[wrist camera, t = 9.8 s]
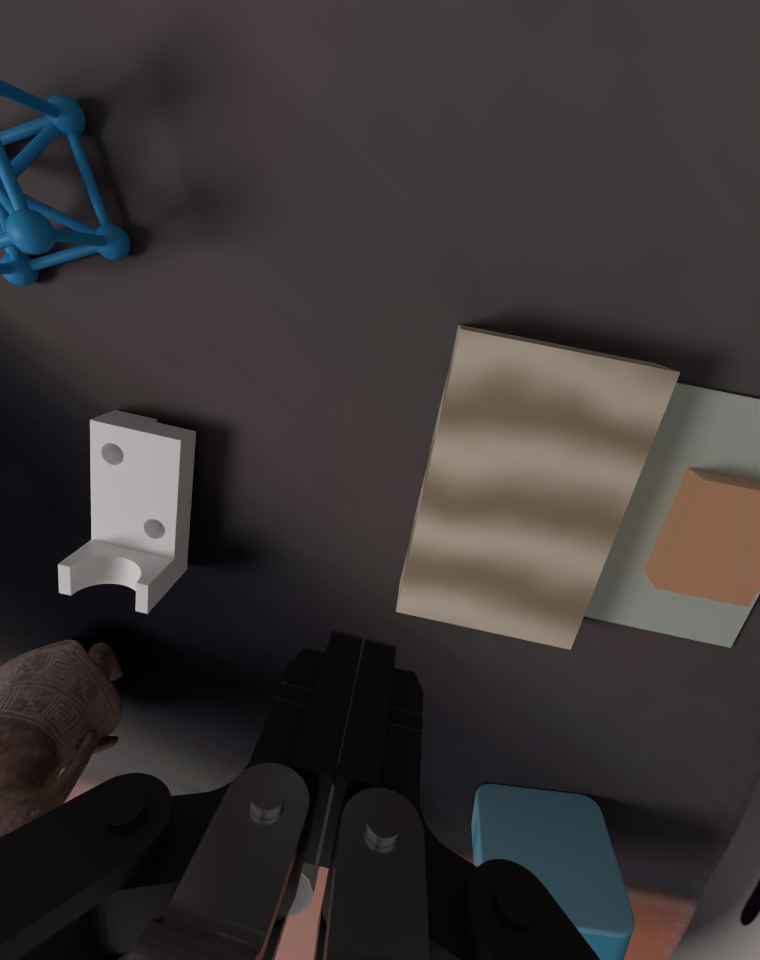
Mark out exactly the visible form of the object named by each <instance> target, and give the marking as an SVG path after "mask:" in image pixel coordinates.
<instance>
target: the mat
mask: <svg viewBox="0 0 760 960" xmlns="http://www.w3.org/2000/svg"><path fill="white" fill-rule="evenodd" d="M687 468H692V469H697V470H702V471H707V472H712V473H717V474H722V475H727V476H732V477H737V478H742V479H747V480H752V481H758V482H760V399H757V398H752V397H747V396H742V395H737V394H732V393H727V392H722V391H717V390H712V389H707V388H702V387H697V386H692V385H686V384H681V383H676V385H675V387H674V390H673V392H672V395H671V397H670V400H669V402H668V405H667V407H666V410H665V412H664V415H663V418H662V420H661V423H660V425H659V428H658V430H657V433H656V435H655V438H654V440H653V443H652V445H651V448H650V450H649V453H648V455H647V458H646V460H645V463H644V466H643V468H642V471H641V473H640V476H639V478H638V481H637V483H636V486H635V488H634V491H633V493H632V496H631V498H630V501H629V503H628V506H627V508H626V511H625V514H624V516H623V519H622V521H621V524H620V526H619V529H618V531H617V534H616V536H615V539H614V541H613V544H612V546H611V549H610V551H609V554H608V556H607V559H606V562H605V564H604V567H603V569H602V572H601V574H600V577H599V579H598V582H597V584H596V587H595V589H594V592H593V594H592V597H591V599H590V602H589V604H588V607H587V610H586V612H585V615H584V616H585V617H589V618H594V619H599V620H603V621H608V622H613V623H617V624H622V625H627V626H631V627H636V628H641V629H645V630H650V631H655V632H659V633H664V634H669V635H673V636H678V637H682V638H687V639H692V640H696V641H701V642H706V643H710V644H715V645H720V646H724V647H729V648H731V646H732V644H733V642H734V641H735V639H736V637H737V635H738V633H739V631H740V630H741V628H742V626H743V624H744V622H745V620H746V618H747V617H748V615H749V613H750V611H751V609H752V607H753V605H754V604H755V602H756V600H757V598H758V596H759V594H760V587H759V589H758V591H757V593H756V595H755V597H754V599H753V601H752V602H751V604H750V606H749V607H744V606H739V605H734V604H729V603H724V602H720V601H715V600H710V599H705V598H700V597H695V596H691V595H686V594H681V593H676V592H671V591H666V590H661V589H657V588H655V587H654V585H653V584H652V582H651V581H650V580H649V578H648V577H647V575H646V574H645V573H644V569H645V567H646V564H647V562H648V560H649V557H650V555H651V553H652V550H653V548H654V545H655V543H656V541H657V538H658V536H659V534H660V531H661V529H662V527H663V524H664V522H665V519H666V517H667V515H668V512H669V510H670V508H671V505H672V503H673V501H674V498H675V496H676V493H677V491H678V489H679V486H680V484H681V482H682V479H683V477H684V475H685V472H686V470H687Z"/></svg>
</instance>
